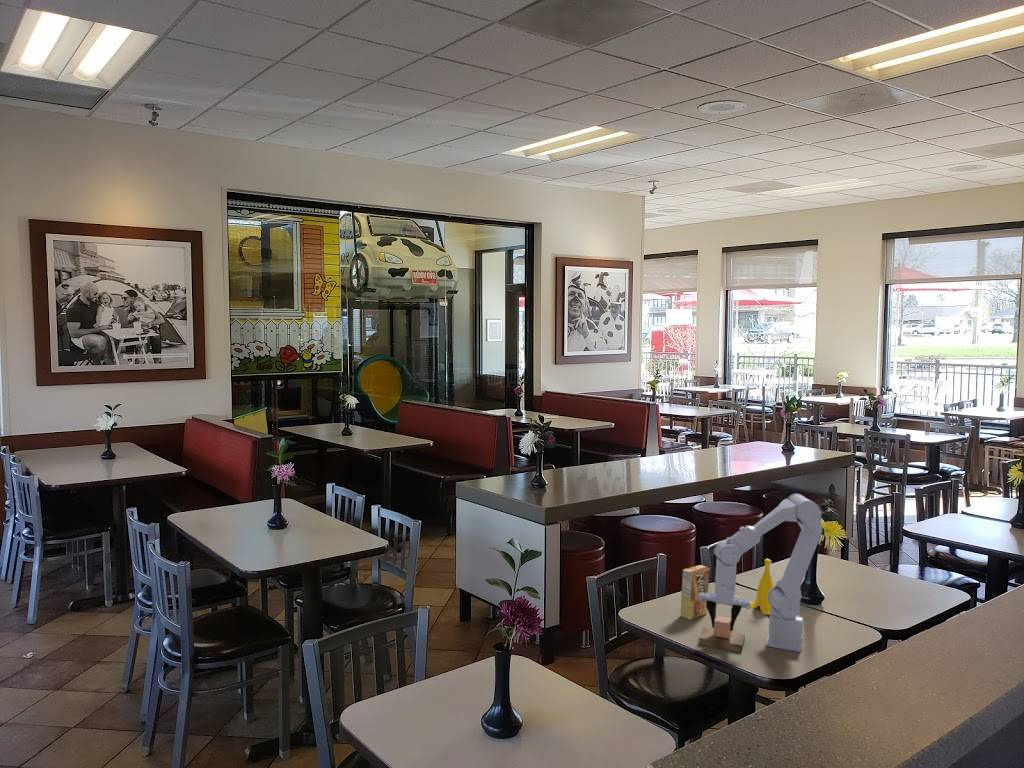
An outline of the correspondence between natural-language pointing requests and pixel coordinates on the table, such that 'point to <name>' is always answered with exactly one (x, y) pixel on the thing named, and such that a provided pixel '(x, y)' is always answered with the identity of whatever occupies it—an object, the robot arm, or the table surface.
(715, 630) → the terracotta cube
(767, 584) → the banana peel
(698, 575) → the candy box
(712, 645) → the walnut board
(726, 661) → the table surface
